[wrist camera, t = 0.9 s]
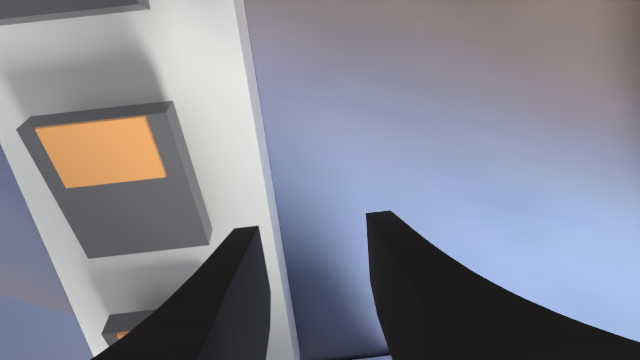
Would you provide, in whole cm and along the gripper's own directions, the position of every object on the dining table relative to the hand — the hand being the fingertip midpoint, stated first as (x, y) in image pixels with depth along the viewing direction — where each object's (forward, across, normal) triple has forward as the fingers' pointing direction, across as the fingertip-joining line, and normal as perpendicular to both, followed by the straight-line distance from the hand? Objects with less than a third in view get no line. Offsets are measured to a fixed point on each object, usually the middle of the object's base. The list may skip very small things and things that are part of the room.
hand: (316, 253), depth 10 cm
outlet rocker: (+6, +7, 0) cm, 9 cm away
